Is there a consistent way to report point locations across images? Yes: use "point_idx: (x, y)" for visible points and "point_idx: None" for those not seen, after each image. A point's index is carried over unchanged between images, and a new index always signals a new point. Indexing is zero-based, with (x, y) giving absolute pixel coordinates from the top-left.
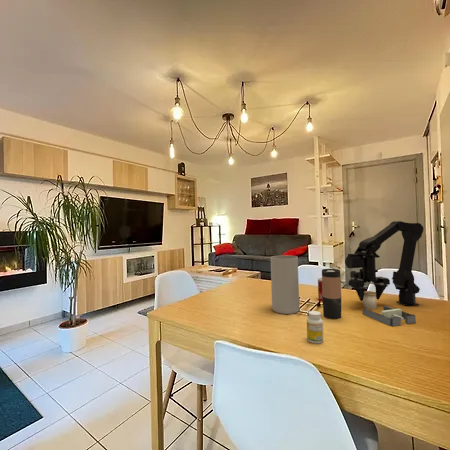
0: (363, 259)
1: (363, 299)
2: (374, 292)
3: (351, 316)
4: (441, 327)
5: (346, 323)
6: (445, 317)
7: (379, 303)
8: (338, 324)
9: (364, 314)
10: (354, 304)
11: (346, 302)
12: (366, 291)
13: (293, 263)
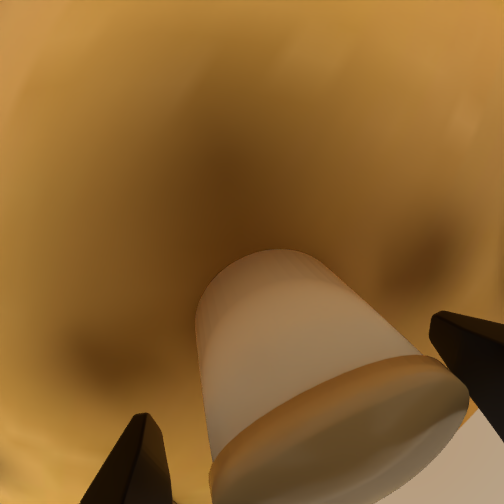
0: None
1: (203, 397)
2: (445, 439)
3: (40, 468)
4: None
5: (27, 497)
6: (471, 415)
7: (444, 197)
8: (3, 491)
9: None
10: (115, 200)
11: (49, 95)
12: (389, 422)
13: None
